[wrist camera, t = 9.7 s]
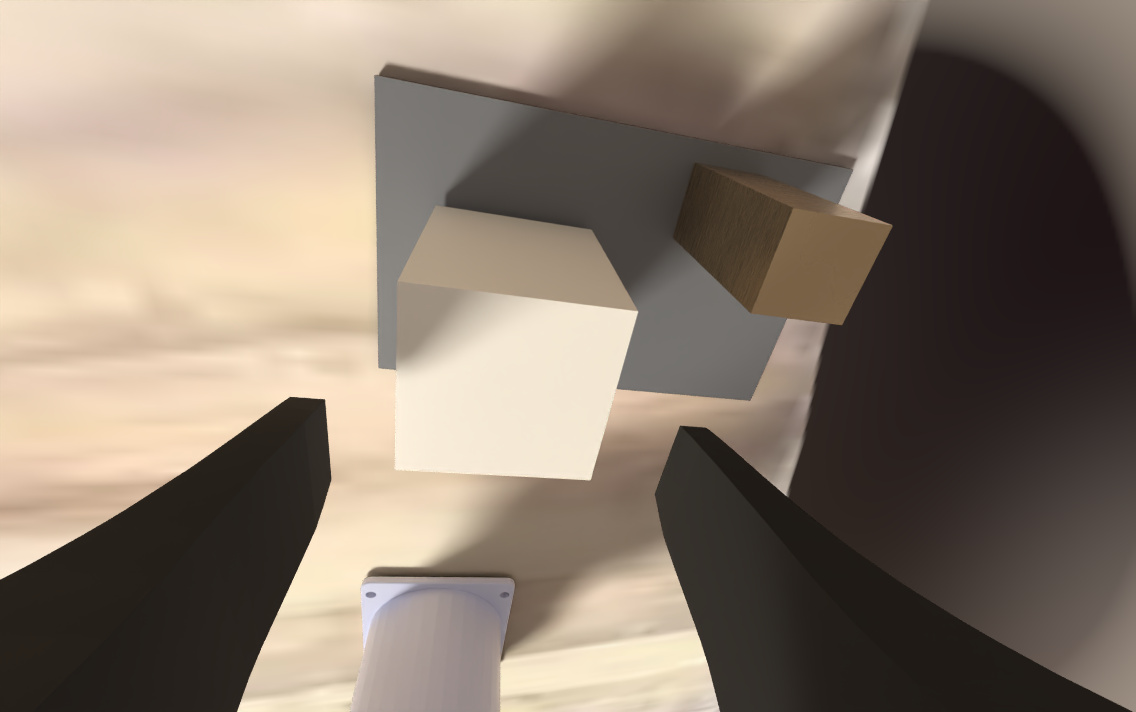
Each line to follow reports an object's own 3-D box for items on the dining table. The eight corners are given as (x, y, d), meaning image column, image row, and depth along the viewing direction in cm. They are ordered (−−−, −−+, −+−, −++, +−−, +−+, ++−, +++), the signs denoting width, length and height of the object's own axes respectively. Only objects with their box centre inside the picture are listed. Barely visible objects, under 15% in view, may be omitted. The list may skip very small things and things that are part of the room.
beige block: (564, 359, 19) (590, 480, 13) (428, 345, 18) (394, 469, 12) (591, 229, 16) (638, 311, 11) (435, 204, 15) (397, 281, 10)
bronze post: (737, 247, 18) (842, 325, 12) (672, 237, 17) (751, 313, 12) (764, 175, 17) (892, 225, 11) (694, 162, 16) (793, 208, 11)
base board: (746, 395, 22) (750, 400, 22) (380, 362, 19) (378, 368, 19) (846, 167, 17) (852, 170, 17) (377, 75, 14) (374, 75, 14)
